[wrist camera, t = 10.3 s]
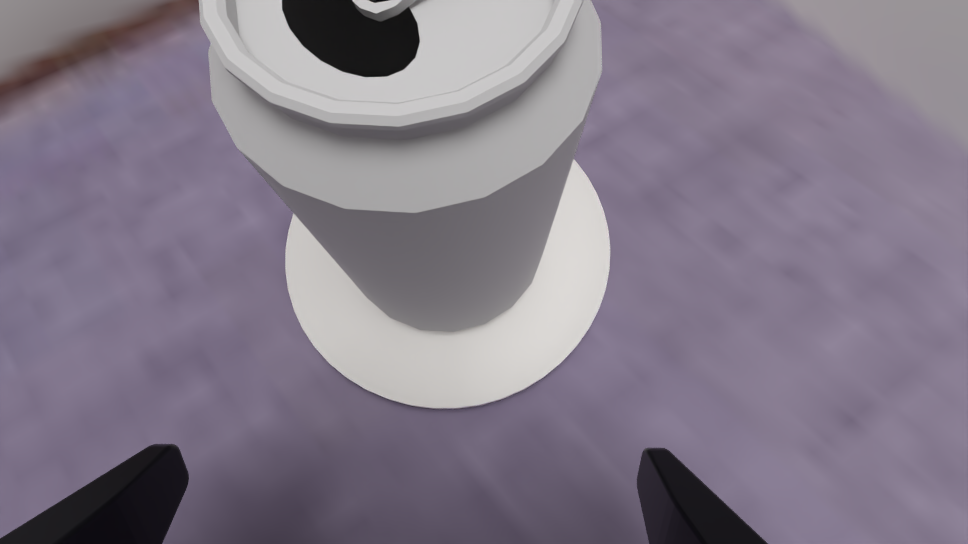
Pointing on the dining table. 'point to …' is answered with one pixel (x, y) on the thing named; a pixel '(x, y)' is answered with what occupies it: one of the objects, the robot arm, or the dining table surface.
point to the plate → (468, 352)
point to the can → (413, 135)
